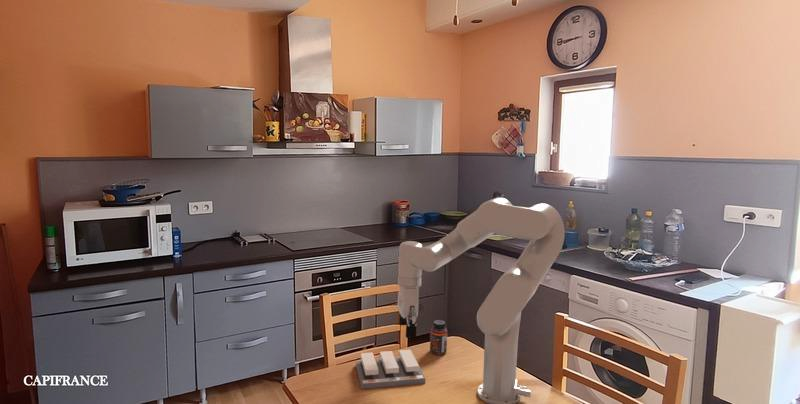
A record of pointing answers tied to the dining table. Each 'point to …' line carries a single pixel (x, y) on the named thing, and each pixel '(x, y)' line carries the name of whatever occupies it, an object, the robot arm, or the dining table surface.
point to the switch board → (388, 376)
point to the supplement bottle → (438, 338)
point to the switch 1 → (369, 363)
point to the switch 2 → (408, 360)
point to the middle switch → (389, 362)
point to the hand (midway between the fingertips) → (407, 330)
